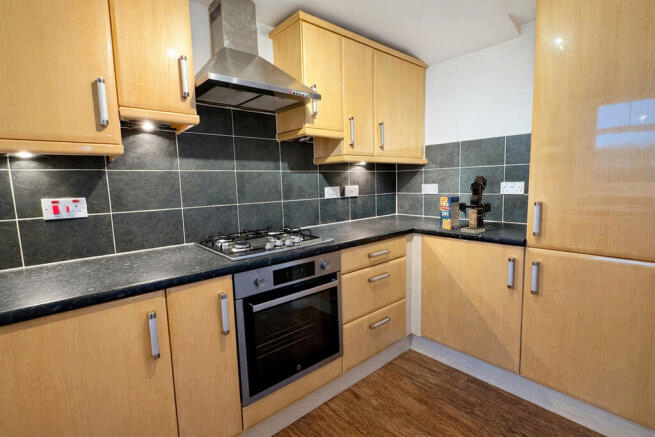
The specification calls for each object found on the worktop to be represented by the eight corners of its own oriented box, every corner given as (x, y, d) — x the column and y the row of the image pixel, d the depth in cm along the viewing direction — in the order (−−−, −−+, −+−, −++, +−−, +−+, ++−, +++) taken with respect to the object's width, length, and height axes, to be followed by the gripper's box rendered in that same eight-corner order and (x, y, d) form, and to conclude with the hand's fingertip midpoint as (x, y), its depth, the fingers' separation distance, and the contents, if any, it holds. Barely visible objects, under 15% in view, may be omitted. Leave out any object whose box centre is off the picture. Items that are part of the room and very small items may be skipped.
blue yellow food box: (450, 230, 201) (450, 196, 199) (439, 227, 212) (440, 196, 209) (459, 229, 203) (459, 196, 201) (448, 227, 214) (448, 195, 211)
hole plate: (460, 231, 195) (460, 228, 195) (470, 229, 200) (470, 226, 200) (474, 233, 187) (474, 230, 186) (485, 231, 191) (485, 228, 191)
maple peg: (467, 231, 195) (467, 209, 194) (473, 230, 196) (474, 209, 194) (471, 232, 191) (472, 210, 189) (478, 231, 192) (478, 209, 190)
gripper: (459, 190, 202) (456, 209, 194) (491, 190, 192) (489, 209, 184) (461, 201, 209) (458, 219, 201) (492, 201, 200) (490, 220, 192)
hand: (473, 217), depth 194 cm, fingers open, 9 cm apart
